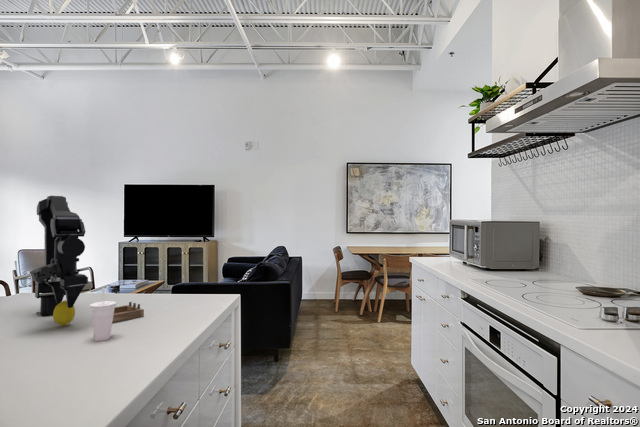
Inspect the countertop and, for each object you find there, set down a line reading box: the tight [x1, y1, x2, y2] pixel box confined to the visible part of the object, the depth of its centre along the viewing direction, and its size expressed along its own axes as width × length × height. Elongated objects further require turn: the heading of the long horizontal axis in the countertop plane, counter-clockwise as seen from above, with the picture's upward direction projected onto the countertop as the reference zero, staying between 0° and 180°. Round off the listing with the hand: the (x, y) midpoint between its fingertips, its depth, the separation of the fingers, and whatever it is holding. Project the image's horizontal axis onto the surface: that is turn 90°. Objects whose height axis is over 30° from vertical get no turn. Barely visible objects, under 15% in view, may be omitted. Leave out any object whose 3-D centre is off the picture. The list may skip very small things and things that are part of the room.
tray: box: [112, 301, 145, 324], centre depth 119 cm, size 11×11×4 cm
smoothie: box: [88, 287, 117, 342], centre depth 98 cm, size 6×6×14 cm
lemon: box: [52, 300, 76, 327], centre depth 109 cm, size 6×6×8 cm
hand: (64, 305), depth 109 cm, fingers open, 9 cm apart
